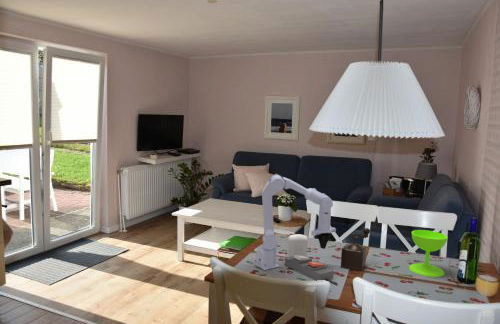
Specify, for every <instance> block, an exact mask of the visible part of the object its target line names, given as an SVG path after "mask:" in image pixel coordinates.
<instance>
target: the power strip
mask: <svg viewBox="0 0 500 324" xmlns="http://www.w3.org/2000/svg"><path fill="white" fill-rule="evenodd" d="M297 256H299V255H297ZM305 257H306V256H305ZM307 258H309V260H304V261H303V260H297V259H295V258H294V256H292V257H287V256H286V257H285V258H284V265H285V266H287V267H288V268H290V269H293V270H295V271H296V272H299V273H301V274H302V275H304V276H307V277H309V278H311V279H313V280H315V281H317V280H325V281H327V280H328V281H327V282H329V281H330V283H332V284H333V283H334V285H336V286H338V285H339V282H337V281H334V280H333V279H334V272H335V271H334V270H333V269H330V268H328V265H327V264H324V263H322V262H320V261H318V262H319V263H321V264H323V265H324V266H322V267H313V266H311V265H308V262H313V259H312V258H310V257H308V256H307ZM331 278H332V279H331Z"/></svg>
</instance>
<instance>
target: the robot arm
mask: <svg viewBox="0 0 500 324" xmlns="http://www.w3.org/2000/svg"><path fill="white" fill-rule="evenodd" d="M283 189H284V190H288V189H291V190H294V191H295V192H297V193H299V194H302V195H304V198H305V199H306V200H307V201H309V202H311V203H314V204H315V205H319V210H318V221H317V222H318V223H317V228H316V229H314V230H311V233H310V234H311V236H314V237H315V236H316V237H317V239H318V242H319V247H320V249H323V250H325V249H326V248H327V244H328V241H329V240H330V238H331V237H332V234H331V233H336V231H337V229H336V227H331V218H332V217H331V216H332V207H333V205H334V203H333V200H332V198H331V197H330V196H328V195H327V194H325V193H322V192H320V191H318V190H317V189H316V188H315V187H313V188H311V187H309V188H306V187H304V186H302V185H301V184H299V183H298V182H295V181H293V180H292V179H290V178H287V177H284V176H282V175H280V174H273V175H271V177H270V178H268V180H267V181H266V183H265V185H264V187H263V189H262V191H261V198H262V199H261V200H262V201H261V202H262V216H263V234H262V238H261V239H262V242H263V244H262V245H261V248H259V249H258V250H256V253H255V264H254V265H255V267H258V268H259V269H262V270H263V271H267V270H271V269H275V268H279V267H280V266H281V265H280V264H278V263H277V251H278V250H277V248H278V247H277V245H278V241H277V239H276V236H275V228H274V225H275V224H274V213H273V212H274V210H273V196H274V195H275V194H276V193H277V192H280V191H282V190H283Z"/></svg>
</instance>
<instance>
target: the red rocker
mask: <svg viewBox="0 0 500 324" xmlns="http://www.w3.org/2000/svg"><path fill="white" fill-rule="evenodd" d="M319 262H320V261H312V262H308V265H311V266H313V267H322V266H324V265H325V264H324V263H322V262H320V263H319ZM321 263H322V264H321ZM323 264H324V265H323Z"/></svg>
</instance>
